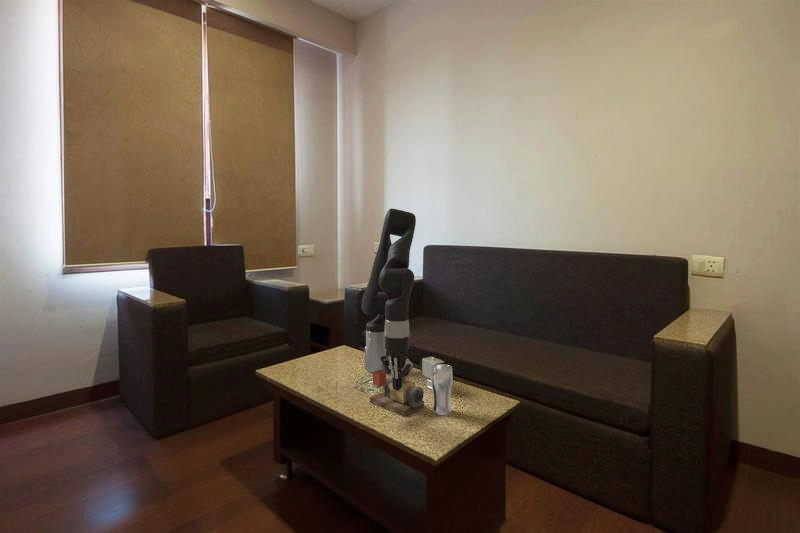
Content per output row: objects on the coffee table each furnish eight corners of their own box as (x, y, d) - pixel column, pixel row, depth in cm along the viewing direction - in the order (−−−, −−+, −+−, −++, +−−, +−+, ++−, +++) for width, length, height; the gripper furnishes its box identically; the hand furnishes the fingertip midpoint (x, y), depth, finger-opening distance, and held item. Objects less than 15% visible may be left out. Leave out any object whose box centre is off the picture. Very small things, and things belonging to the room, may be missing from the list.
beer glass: (434, 405, 145) (434, 362, 144) (454, 409, 142) (455, 365, 141) (428, 414, 138) (428, 369, 137) (449, 417, 136) (449, 371, 135)
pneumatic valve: (438, 394, 154) (438, 362, 153) (419, 385, 164) (419, 354, 163) (450, 391, 158) (450, 359, 156) (430, 382, 167) (430, 352, 166)
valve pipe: (370, 402, 148) (369, 376, 147) (390, 394, 155) (390, 368, 154) (406, 417, 136) (406, 388, 135) (426, 407, 143) (426, 380, 143)
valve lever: (402, 375, 146) (402, 362, 146) (409, 377, 144) (409, 363, 144) (371, 387, 136) (371, 372, 136) (378, 389, 134) (378, 374, 133)
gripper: (421, 335, 128) (421, 391, 129) (390, 328, 137) (390, 380, 138) (404, 340, 122) (404, 398, 124) (373, 332, 131) (373, 387, 133)
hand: (397, 389), depth 131 cm, fingers closed
